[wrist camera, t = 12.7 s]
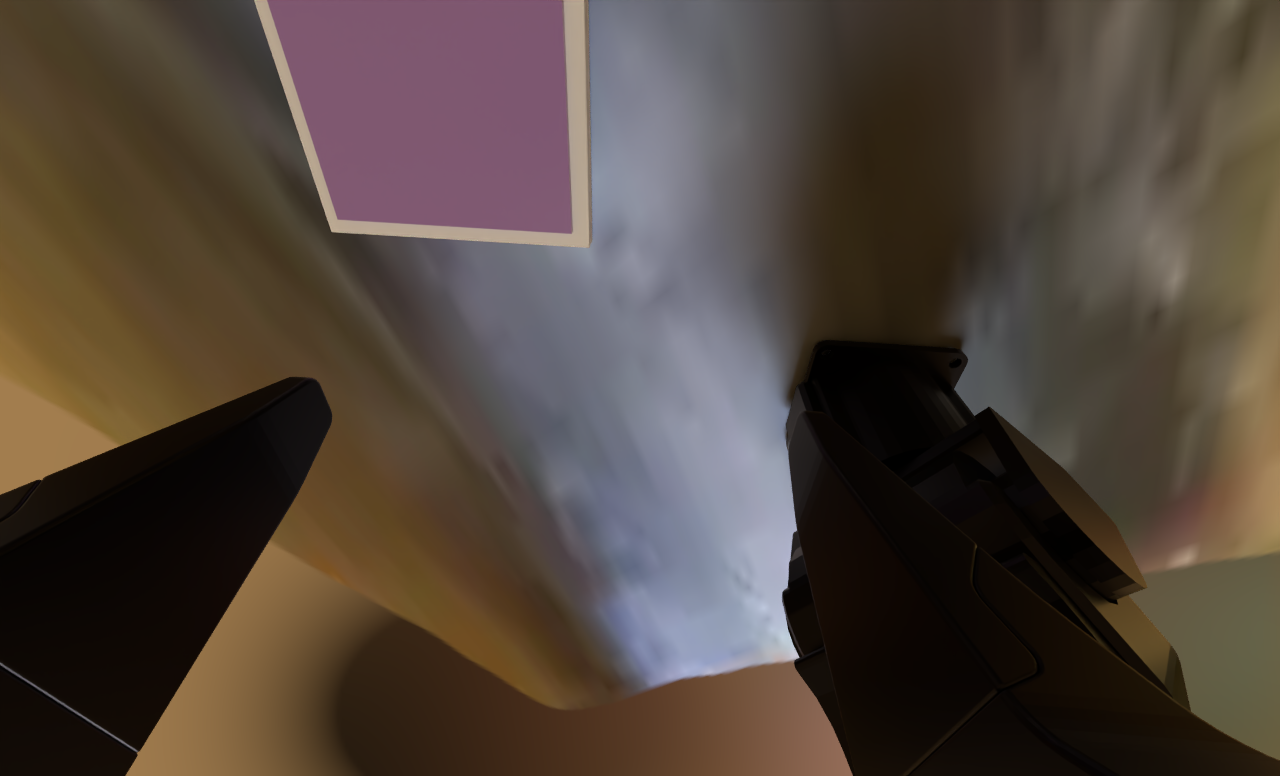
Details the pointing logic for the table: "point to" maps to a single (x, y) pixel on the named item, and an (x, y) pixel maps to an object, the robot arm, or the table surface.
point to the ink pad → (442, 114)
